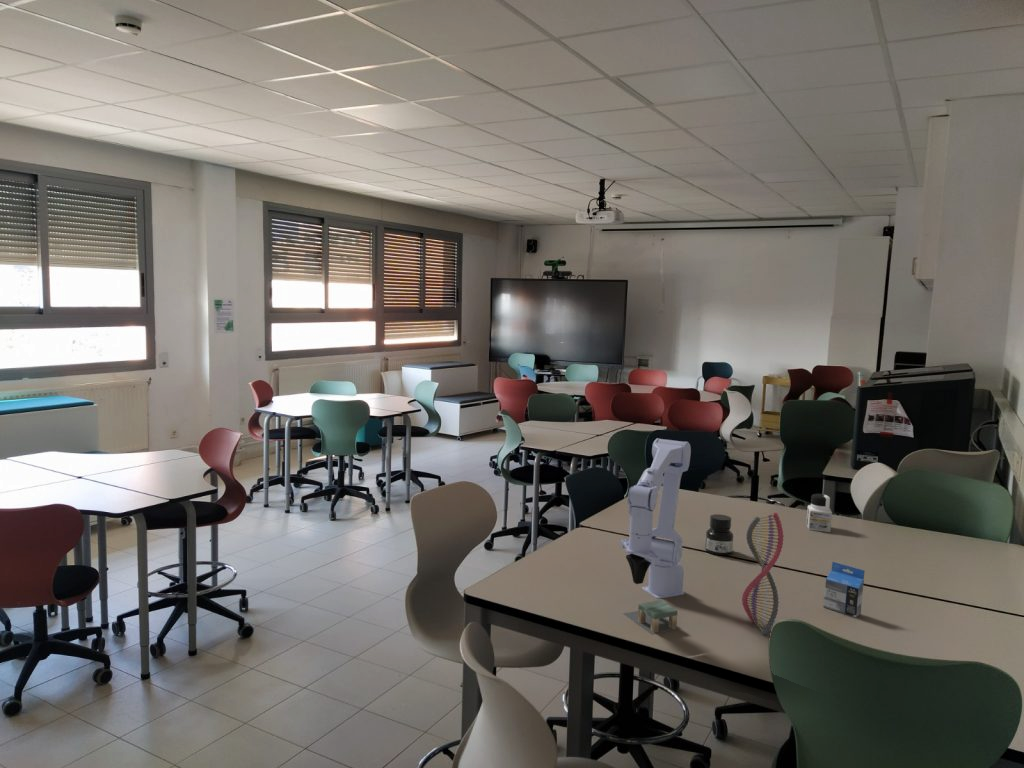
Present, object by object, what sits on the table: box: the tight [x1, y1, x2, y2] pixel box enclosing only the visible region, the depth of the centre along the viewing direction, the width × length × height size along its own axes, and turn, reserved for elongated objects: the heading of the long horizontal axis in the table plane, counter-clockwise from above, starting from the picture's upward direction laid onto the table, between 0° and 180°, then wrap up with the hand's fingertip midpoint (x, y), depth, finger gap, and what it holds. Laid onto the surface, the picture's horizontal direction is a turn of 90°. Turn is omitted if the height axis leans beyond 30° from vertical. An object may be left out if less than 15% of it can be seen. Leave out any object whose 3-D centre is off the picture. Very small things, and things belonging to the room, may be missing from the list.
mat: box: [623, 610, 682, 635], centre depth 183 cm, size 9×13×1 cm
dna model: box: [741, 511, 785, 636], centre depth 180 cm, size 9×9×30 cm
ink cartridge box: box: [823, 561, 865, 618], centre depth 193 cm, size 9×4×12 cm, turn 45°
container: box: [806, 493, 833, 533], centre depth 269 cm, size 8×8×13 cm
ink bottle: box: [704, 513, 734, 556], centre depth 239 cm, size 10×9×12 cm
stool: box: [637, 599, 678, 632], centre depth 181 cm, size 5×7×7 cm
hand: (638, 582), depth 184 cm, fingers closed
